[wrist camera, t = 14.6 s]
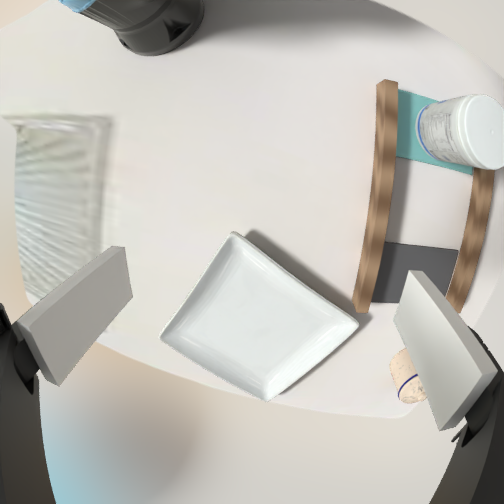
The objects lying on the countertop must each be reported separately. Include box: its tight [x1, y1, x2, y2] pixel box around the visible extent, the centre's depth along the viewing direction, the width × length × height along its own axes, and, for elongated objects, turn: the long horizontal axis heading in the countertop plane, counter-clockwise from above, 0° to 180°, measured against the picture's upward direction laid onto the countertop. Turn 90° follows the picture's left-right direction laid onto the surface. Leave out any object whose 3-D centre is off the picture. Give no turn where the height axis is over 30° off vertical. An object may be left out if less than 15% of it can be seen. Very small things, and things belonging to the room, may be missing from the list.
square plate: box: [159, 231, 360, 402], centre depth 48 cm, size 27×27×4 cm
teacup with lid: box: [390, 348, 427, 403], centre depth 44 cm, size 12×9×12 cm
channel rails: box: [352, 79, 495, 313], centre depth 36 cm, size 36×22×4 cm, turn 178°
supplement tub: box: [415, 94, 504, 170], centre depth 26 cm, size 10×10×15 cm
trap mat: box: [371, 242, 458, 303], centre depth 42 cm, size 11×17×1 cm, turn 88°
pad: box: [396, 89, 473, 175], centre depth 33 cm, size 11×17×1 cm, turn 88°
